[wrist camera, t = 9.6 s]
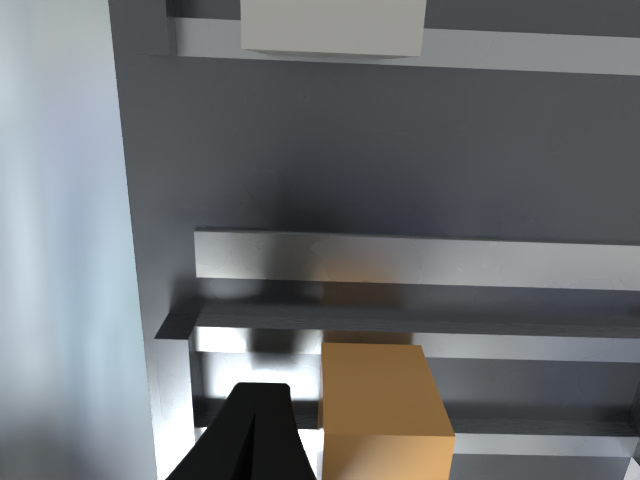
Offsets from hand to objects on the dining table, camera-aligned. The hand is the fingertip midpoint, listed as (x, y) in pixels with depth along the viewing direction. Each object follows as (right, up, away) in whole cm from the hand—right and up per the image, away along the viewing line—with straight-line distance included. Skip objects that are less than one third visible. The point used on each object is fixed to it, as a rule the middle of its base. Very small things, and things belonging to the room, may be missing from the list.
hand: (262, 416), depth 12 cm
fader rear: (+3, 0, +1) cm, 3 cm away
